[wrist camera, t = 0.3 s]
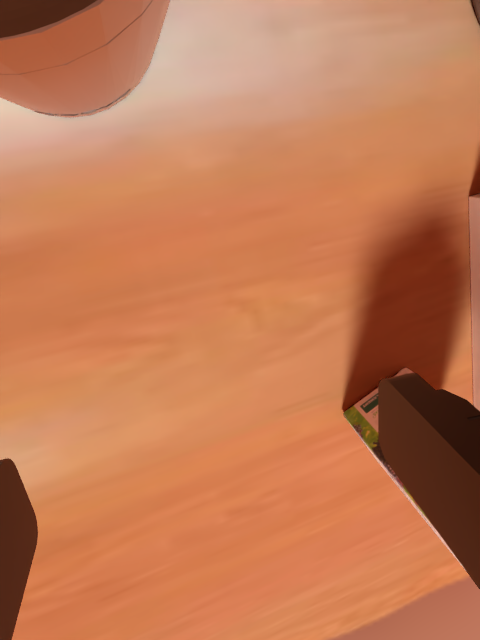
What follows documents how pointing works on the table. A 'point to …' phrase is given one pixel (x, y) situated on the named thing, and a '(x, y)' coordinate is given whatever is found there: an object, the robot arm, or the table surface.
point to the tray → (475, 292)
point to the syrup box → (366, 427)
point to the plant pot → (477, 8)
